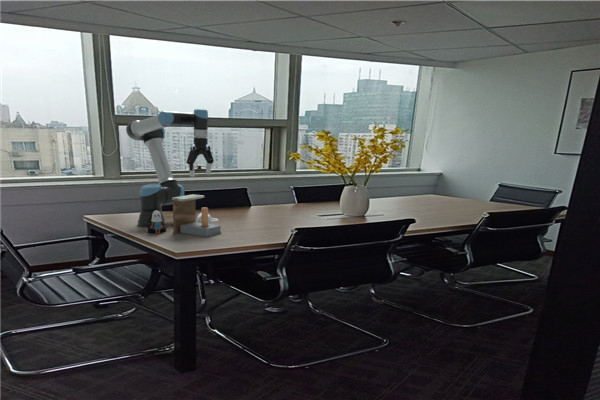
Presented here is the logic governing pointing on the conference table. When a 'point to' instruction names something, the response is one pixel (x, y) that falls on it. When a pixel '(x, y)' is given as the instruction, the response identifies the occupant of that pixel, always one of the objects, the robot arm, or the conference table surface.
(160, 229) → the figurine
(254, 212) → the conference table surface
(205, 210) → the peg
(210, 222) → the mug
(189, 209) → the panel
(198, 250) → the conference table surface
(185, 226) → the socket board
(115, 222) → the conference table surface
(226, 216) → the conference table surface
